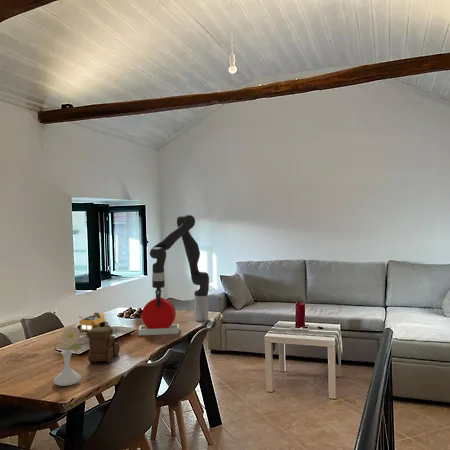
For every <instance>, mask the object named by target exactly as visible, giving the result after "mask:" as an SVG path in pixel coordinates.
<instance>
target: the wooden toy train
mask: <svg viewBox="0 0 450 450" xmlns="http://www.w3.org/2000/svg"><path fill="white" fill-rule="evenodd" d="M113 329H114V328H113V327H111V326H110V324H108V325H105V326H104V327H96V328H92V329H90V330H89V331H87V332H86V338H87V339H88V340H89V351H88V353H87V359H88V362H89V363H90V364H92V363H94V362H106V363H107V364H111V363H112V362H113V360H114V359H113V358H114V357H118V355H119V353H120V348H121V347H120V343H119V342H117V341H116V338H115V335H113V333H114V332H113V331H114V330H113Z"/></svg>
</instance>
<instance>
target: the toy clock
mask: <svg viewBox="0 0 450 450" xmlns="http://www.w3.org/2000/svg"><path fill="white" fill-rule="evenodd" d="M157 299H160V298H157ZM141 319H142V322H143V325H145V326H146V327H147V328H148V329H156V328H169V327H170V326H171V325H172V324H174V322H175V319H176V308H175V306H174V304H173V303H172V302H171V301H170V300H168V299H167V298H163V297H161V301H160V307H157V301H156V297H155V298H153V299H151V300H150V301H148V302H147V303H145V305H144V307H143V309H142V312H141Z"/></svg>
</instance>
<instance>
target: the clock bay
mask: <svg viewBox="0 0 450 450" xmlns="http://www.w3.org/2000/svg"><path fill="white" fill-rule="evenodd" d="M178 333H179V334H180V324H179V323H172V325H171V326H170V327H169V328H156V329H148V328H147V327H146V326H145V324H143V325H139V326H138V336H155V335H157V336H158V335H176V334H177V335H179V334H178Z"/></svg>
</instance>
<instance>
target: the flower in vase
mask: <svg viewBox="0 0 450 450" xmlns="http://www.w3.org/2000/svg"><path fill="white" fill-rule="evenodd" d="M81 336H82V334H81V332H80V330H79V329H78V328H77V327H74V326H70V327H67V328H66V329H64V331H63V332H62V334H61V337H60V338H61V341H62V343H63V344H65V345H63V344H62V343H60V345H61V346H62V347H63V348H66V349H67V350H66V349H65V350H62V351H61V352H60V353H61V355H62V356H63V361H64V368H63V369H62V371H61V372H59V374H57V375H56V376H55V378H54V379H53V383H54V385H56V386H60V387H68V385H69V386H73V385H75V384H77V383H80V381H81V380H82V376H81V374H79V373H78V372H77V371H76V370H74V369H72V368H71V357H72V355H73V352H74V350H75V351H77V350H81V349H82V348H81V345H79V344H78V342H79V339H80V338H81ZM66 345H67V346H66ZM68 346H70V347H68ZM71 349H73V350H71Z"/></svg>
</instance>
